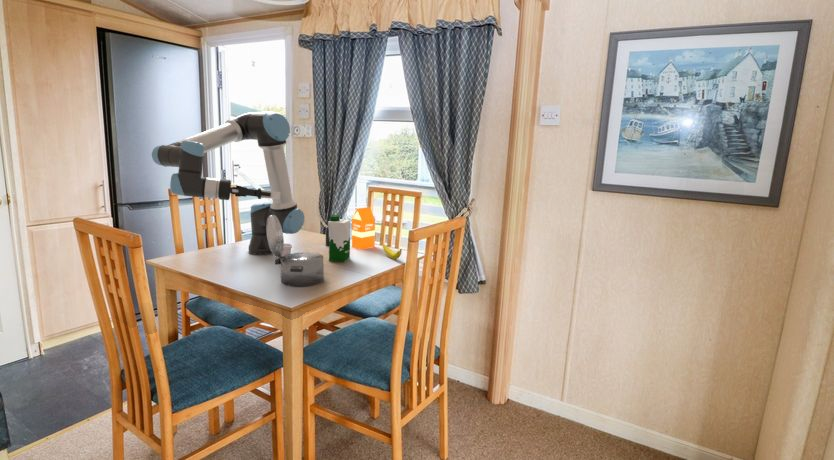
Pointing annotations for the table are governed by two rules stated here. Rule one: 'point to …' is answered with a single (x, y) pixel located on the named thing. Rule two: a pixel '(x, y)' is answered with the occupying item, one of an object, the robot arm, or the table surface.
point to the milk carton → (339, 239)
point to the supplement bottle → (327, 236)
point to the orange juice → (363, 228)
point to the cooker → (301, 269)
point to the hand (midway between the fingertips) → (279, 195)
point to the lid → (275, 236)
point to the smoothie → (286, 250)
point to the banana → (391, 252)
